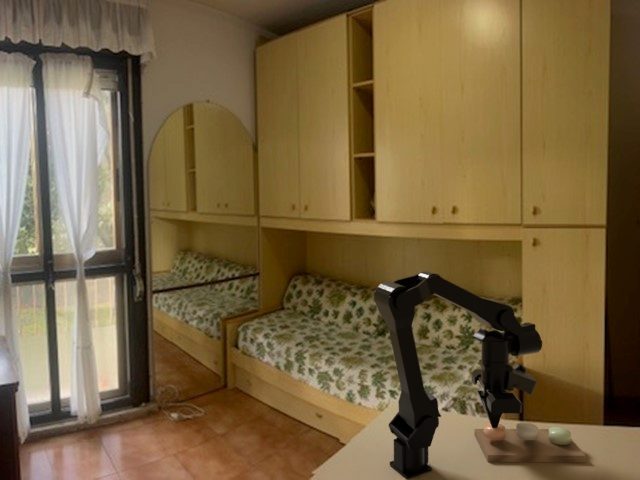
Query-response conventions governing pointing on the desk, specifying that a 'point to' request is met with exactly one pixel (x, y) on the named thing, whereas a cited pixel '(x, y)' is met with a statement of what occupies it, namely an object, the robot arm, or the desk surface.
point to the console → (527, 448)
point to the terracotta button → (494, 432)
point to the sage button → (559, 435)
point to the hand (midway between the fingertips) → (494, 427)
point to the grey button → (527, 431)
